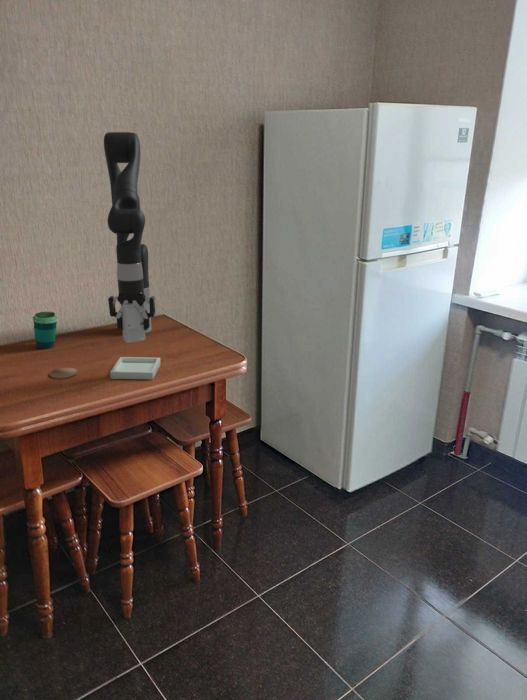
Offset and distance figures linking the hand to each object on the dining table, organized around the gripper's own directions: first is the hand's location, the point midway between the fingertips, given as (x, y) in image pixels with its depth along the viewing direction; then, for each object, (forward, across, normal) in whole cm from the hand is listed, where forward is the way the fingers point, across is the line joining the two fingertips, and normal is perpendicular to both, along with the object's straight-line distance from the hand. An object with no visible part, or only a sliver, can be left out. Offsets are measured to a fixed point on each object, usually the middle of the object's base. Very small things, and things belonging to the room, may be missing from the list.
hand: (133, 329), depth 176 cm
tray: (+14, 0, 0) cm, 14 cm away
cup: (+14, +36, -21) cm, 44 cm away
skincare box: (+4, 0, 0) cm, 4 cm away
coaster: (+14, +22, +4) cm, 26 cm away
